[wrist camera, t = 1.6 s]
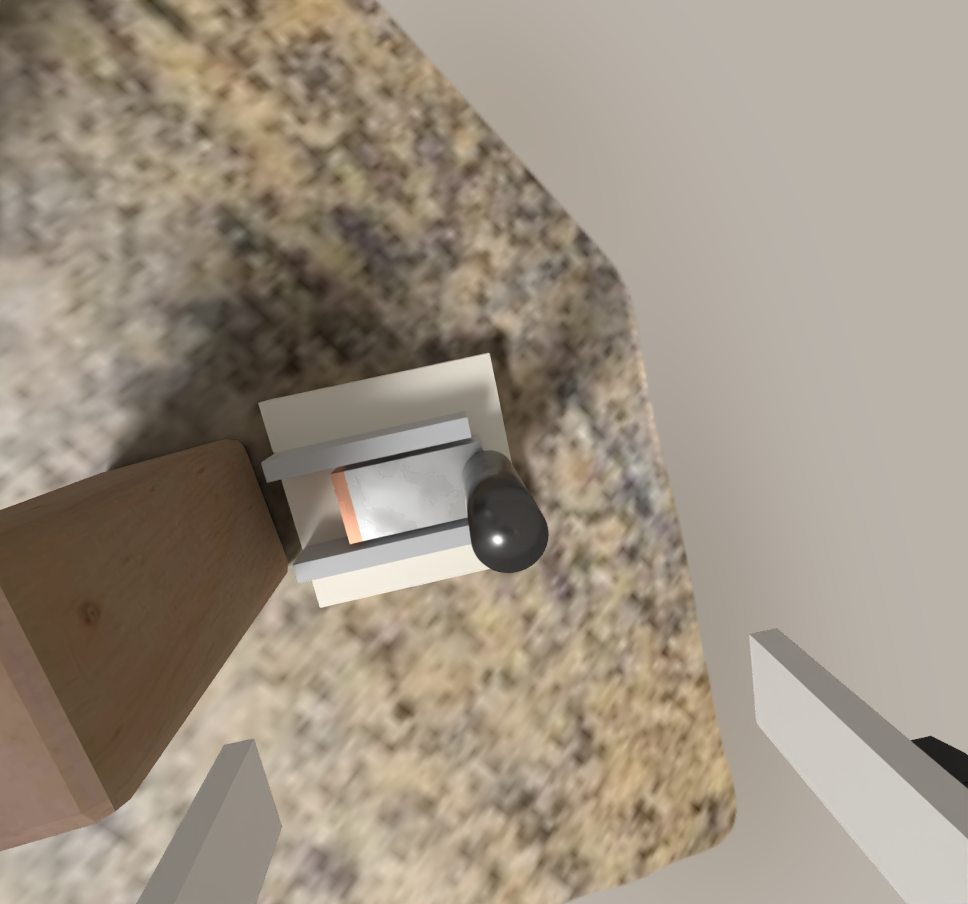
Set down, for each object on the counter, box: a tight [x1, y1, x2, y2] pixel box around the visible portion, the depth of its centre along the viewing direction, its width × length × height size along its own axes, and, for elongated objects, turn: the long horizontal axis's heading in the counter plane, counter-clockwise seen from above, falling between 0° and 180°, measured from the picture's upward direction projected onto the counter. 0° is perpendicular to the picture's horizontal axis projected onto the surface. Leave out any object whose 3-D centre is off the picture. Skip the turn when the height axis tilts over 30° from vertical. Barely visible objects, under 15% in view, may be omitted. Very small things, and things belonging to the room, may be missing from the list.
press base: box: [258, 353, 512, 608], centre depth 33 cm, size 14×14×5 cm
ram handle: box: [330, 435, 548, 573], centre depth 27 cm, size 4×11×12 cm, turn 102°
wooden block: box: [0, 439, 288, 851], centre depth 25 cm, size 10×10×20 cm
